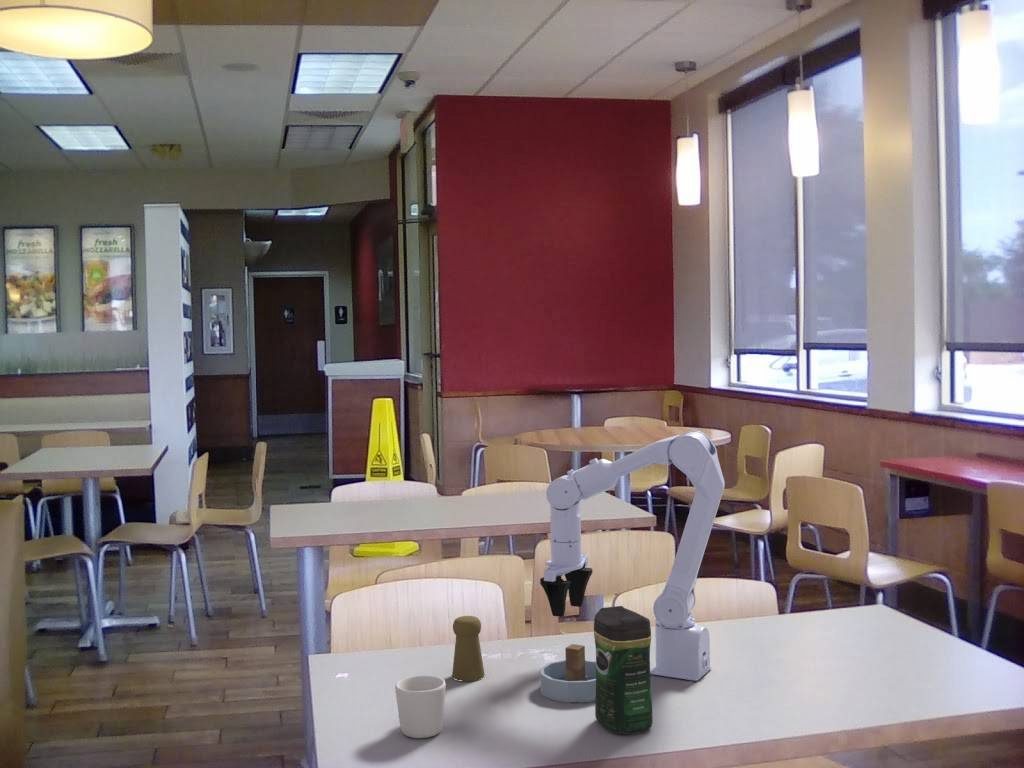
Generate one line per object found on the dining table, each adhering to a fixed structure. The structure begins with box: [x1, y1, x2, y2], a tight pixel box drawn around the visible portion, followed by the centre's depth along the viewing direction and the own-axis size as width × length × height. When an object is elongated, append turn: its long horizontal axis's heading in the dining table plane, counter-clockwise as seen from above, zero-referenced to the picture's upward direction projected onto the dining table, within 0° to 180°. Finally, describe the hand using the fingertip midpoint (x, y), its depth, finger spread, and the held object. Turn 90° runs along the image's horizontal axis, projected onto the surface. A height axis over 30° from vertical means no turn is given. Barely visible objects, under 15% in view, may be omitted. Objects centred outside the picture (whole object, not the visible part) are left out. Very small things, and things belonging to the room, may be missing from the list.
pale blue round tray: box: [539, 659, 596, 704], centre depth 184 cm, size 12×12×4 cm
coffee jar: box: [593, 605, 654, 735], centre depth 167 cm, size 10×8×19 cm
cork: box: [451, 615, 486, 682], centre depth 192 cm, size 6×6×11 cm
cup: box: [394, 674, 447, 739], centre depth 167 cm, size 11×8×8 cm
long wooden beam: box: [565, 643, 586, 681], centre depth 184 cm, size 2×2×7 cm
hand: (567, 611), depth 199 cm, fingers open, 7 cm apart
